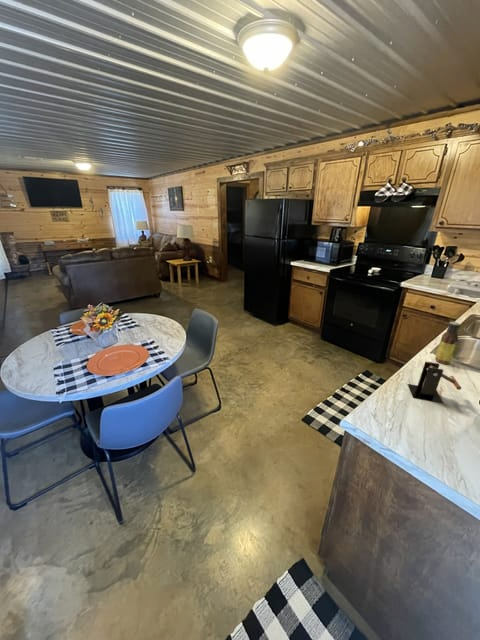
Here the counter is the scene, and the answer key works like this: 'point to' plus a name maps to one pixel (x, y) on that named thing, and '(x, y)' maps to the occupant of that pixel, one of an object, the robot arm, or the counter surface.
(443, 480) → the counter surface
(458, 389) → the lever
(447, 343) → the sauce bottle
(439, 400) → the bracket
